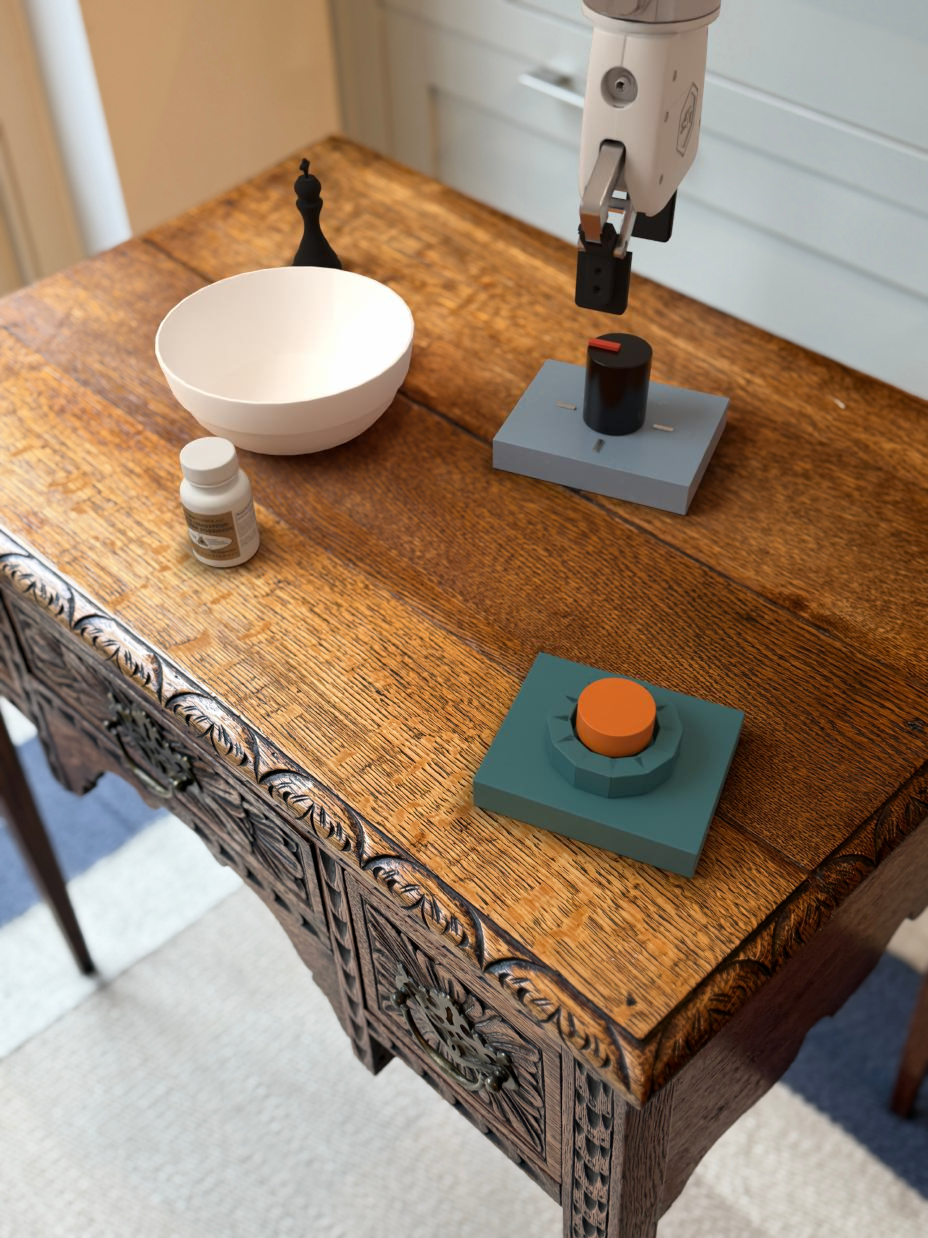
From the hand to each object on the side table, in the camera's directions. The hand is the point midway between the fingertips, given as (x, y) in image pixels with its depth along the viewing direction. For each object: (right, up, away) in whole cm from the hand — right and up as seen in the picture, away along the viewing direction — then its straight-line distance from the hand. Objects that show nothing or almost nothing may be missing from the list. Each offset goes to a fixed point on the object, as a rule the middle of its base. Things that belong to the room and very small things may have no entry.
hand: (624, 271), depth 75 cm
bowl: (-23, -7, +13) cm, 27 cm away
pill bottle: (-26, -18, +2) cm, 31 cm away
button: (-2, -28, -14) cm, 31 cm away
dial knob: (0, -8, +8) cm, 11 cm away
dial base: (0, -10, +10) cm, 14 cm away
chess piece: (-23, +8, +29) cm, 38 cm away
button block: (-2, -31, -11) cm, 33 cm away
